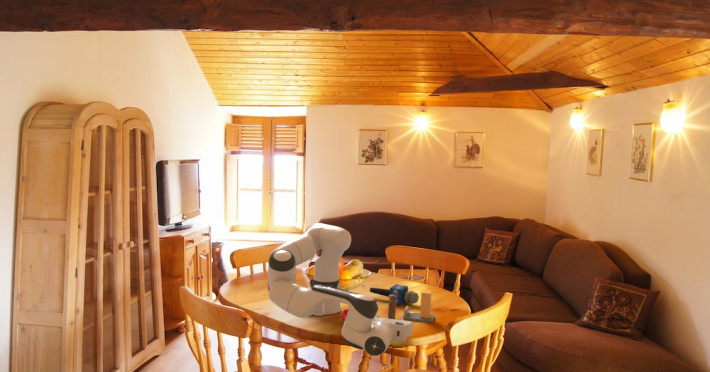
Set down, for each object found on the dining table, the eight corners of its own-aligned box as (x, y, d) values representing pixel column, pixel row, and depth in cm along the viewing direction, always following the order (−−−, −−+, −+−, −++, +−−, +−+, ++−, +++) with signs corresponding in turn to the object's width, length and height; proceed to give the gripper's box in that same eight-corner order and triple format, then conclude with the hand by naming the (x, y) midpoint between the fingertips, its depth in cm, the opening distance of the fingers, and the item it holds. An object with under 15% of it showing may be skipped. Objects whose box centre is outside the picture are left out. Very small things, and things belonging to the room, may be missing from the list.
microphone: (374, 280, 253) (421, 288, 241) (373, 295, 253) (420, 304, 241) (367, 283, 246) (415, 292, 234) (366, 299, 246) (414, 308, 235)
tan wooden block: (420, 317, 219) (421, 292, 218) (421, 314, 223) (422, 290, 222) (429, 318, 218) (430, 293, 217) (430, 315, 222) (431, 291, 221)
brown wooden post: (387, 329, 206) (388, 296, 205) (388, 327, 209) (389, 294, 208) (394, 330, 205) (395, 297, 204) (395, 328, 208) (396, 295, 207)
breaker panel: (402, 319, 219) (402, 310, 218) (405, 313, 226) (405, 305, 226) (432, 323, 216) (432, 313, 215) (434, 317, 223) (434, 308, 223)
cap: (339, 318, 208) (352, 312, 207) (338, 309, 214) (351, 303, 213) (349, 331, 211) (361, 325, 210) (348, 322, 217) (360, 315, 216)
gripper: (355, 335, 189) (364, 323, 203) (409, 342, 185) (414, 329, 198) (356, 318, 189) (364, 308, 202) (410, 325, 184) (415, 314, 197)
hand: (389, 318), depth 200 cm, fingers open, 8 cm apart
